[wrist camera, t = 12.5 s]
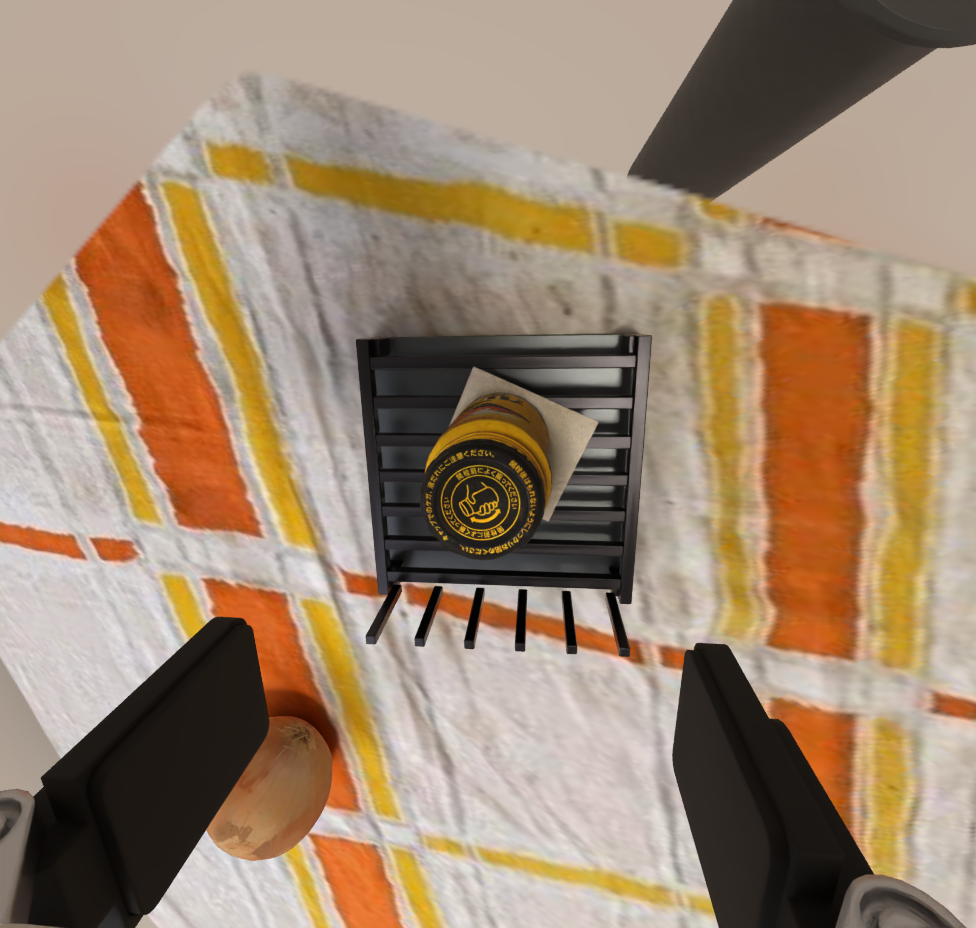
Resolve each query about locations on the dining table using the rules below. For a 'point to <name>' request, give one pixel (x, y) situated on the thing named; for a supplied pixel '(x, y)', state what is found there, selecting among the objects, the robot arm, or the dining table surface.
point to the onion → (276, 793)
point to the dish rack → (583, 504)
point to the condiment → (499, 467)
